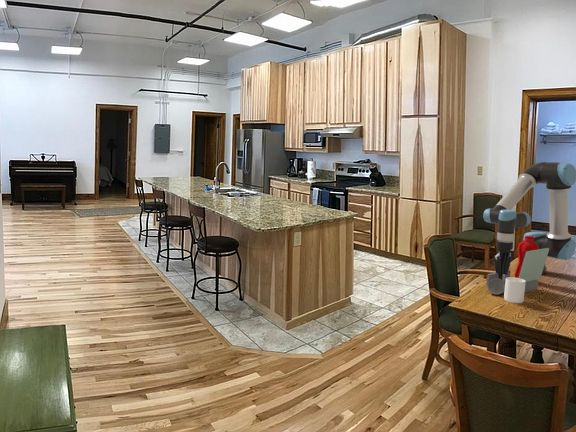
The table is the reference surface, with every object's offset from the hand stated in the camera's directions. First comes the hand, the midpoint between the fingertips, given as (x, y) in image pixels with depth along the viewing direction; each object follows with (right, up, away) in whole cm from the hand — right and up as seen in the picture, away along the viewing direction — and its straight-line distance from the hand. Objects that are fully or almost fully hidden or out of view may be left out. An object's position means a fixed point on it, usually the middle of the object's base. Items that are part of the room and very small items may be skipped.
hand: (500, 286), depth 226 cm
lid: (+13, +11, -6) cm, 18 cm away
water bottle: (+20, 0, +17) cm, 26 cm away
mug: (-2, +1, 0) cm, 2 cm away
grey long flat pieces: (+8, -1, +4) cm, 9 cm away
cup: (-1, -4, -14) cm, 15 cm away
